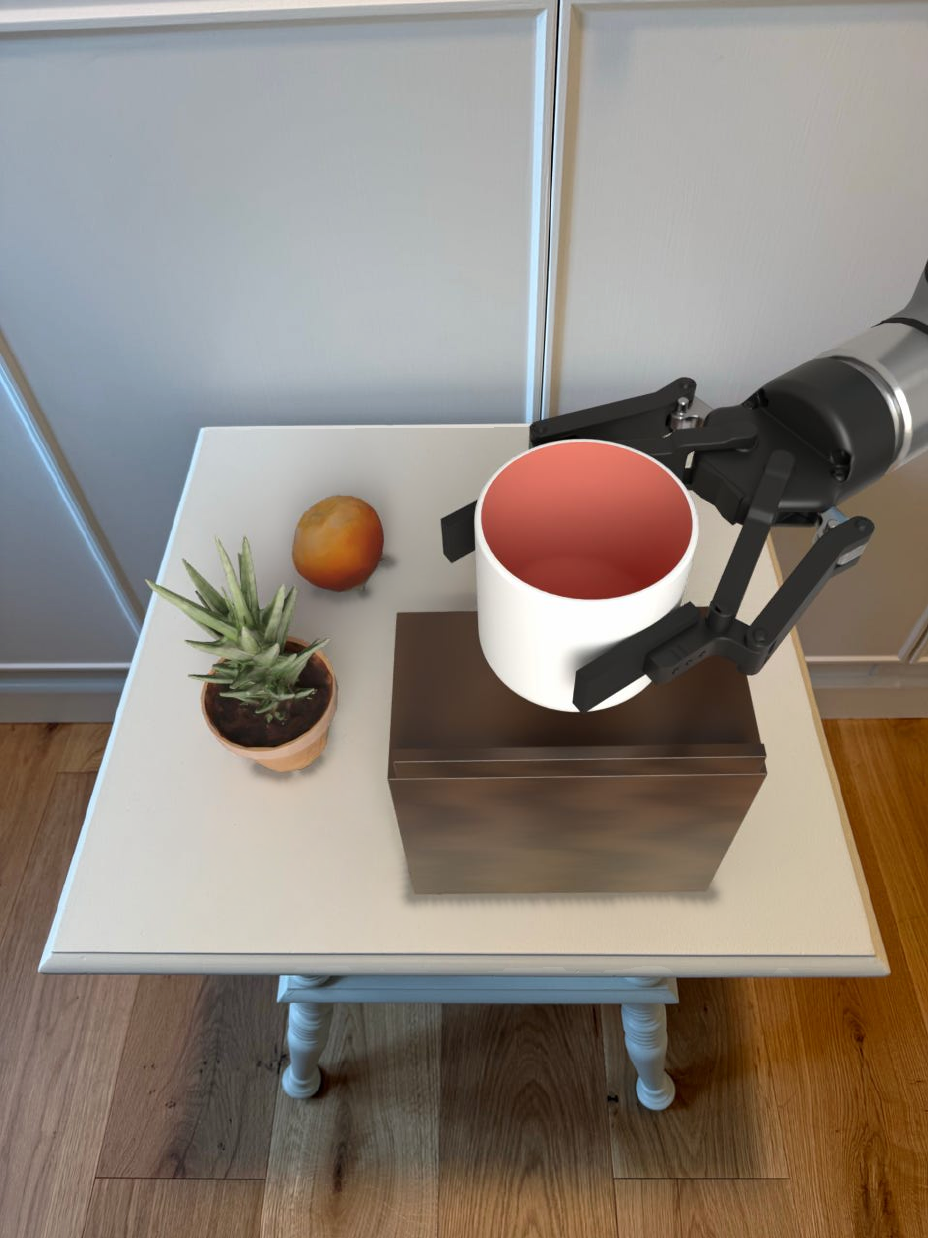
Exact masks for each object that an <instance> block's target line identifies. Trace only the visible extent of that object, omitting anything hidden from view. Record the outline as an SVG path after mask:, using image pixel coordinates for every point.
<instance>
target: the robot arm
mask: <svg viewBox="0 0 928 1238" xmlns="http://www.w3.org/2000/svg"><path fill="white" fill-rule="evenodd" d="M697 386H698V384H697V381H695V379H694V378H691V377H687V376H681V377H679V378H676V379H675V380H673V381H671V382H670V383H667V385H665V386H663V387H661V388H660V389H658V390H656V391H653V392H649V393H644V394H641V395H637V396H632V397H629V398H625V399H621V400H617V401H613V402H609V403H604V404H600V405H597V406H593V407H588V408H584V409H581V410H576V411H572V412H568V413H563V414H560V415H555V416H552V417H548V418H543V419H539V420H535V421H533V422H532V423H531V424H530V425H529V428H528V450H529V449H531V448H534V447H537V446H539V445H543V444H547V443H551V442H556V441H562V440H571V439H591V440H601V441H608V442H613V443H617V444H621V445H625V446H628V447H631V448H634V449H636V450H638V451H641V452H643V453H645V454H647V455H649V456H651V457H653V458H654V459H656V460H657V461H659V462H660V463H662V464H663V465H664V466H666V467H667V468H668V469H670V470H671V471H672V472H673V473H674V474H675V475H676V476H677V477H678V478H679V479H680V481H681V482H682V483H683V484H684V486H685V487H686V489H687V490H688V492H690V491H692V492H693V493H694V494H695V495H696V496H698V497H699V498H700V499H702V500H703V501H705V502H707V503H709V504H710V505H712V506H714V507H715V508H716V510H717V512H718V513H719V514H720V516H721V517H722V518H723V519H724V520H725V521H726V522H728V523H729V524H730V525H731V526H735V525H736V524H738V525H739V526H742V527H741V529H740V531H739V533H738V536H737V538H736V541H735V543H734V545H733V548H732V551H731V553H730V556H729V558H728V561H727V562H726V565H725V567H724V570H723V572H722V575H721V577H720V579H719V582H718V584H717V587H716V589H715V592H714V594H713V596H712V599H711V600H710V602H709V605H708V606H709V608H708V611H707V615H705V616H704V617H702V618H701V619H700V615H701V611H700V610H699V609H698V608H697V607H698V606H696V605H695V604H694V603H693V602H692V601H691V600H689V601H687V602H686V603H684V604H683V605H681V606H680V607H679V608H678V609H676V610H675V611H673V612H671V613H670V614H668V615H666V616H665V617H663V618H662V619H660V620H658V621H657V622H655V623H654V624H652V625H650V626H649V627H647V628H645V629H644V630H642V631H640V632H639V633H637V634H636V635H634V636H632V637H631V638H629V639H627V640H626V641H624V642H623V643H621V644H619V645H618V646H616V647H614V648H613V649H611V650H609V651H608V652H606V653H605V654H603V655H601V656H600V657H598V658H596V659H595V660H593V661H592V662H590V663H588V664H587V665H585V666H583V667H582V668H580V669H579V670H577V671H576V675H575V684H574V692H573V700H572V703H573V704H574V706H575V707H576V708H577V709H578V710H579V711H580V712H581V714H582V715H583V714H584V713H586V712H587V711H589V710H590V709H592V708H594V707H595V706H597V705H598V704H600V703H601V702H603V701H605V700H606V699H608V698H609V697H611V696H613V695H614V694H616V693H617V692H619V691H620V690H622V689H624V688H625V687H627V686H628V685H630V684H631V683H633V682H635V681H636V680H638V679H639V678H641V677H642V676H644V675H647V677H648V678H649V679H650V680H651V681H652V682H653V683H654V684H655V685H660V684H665V683H668V682H670V681H671V680H673V679H674V678H676V677H677V676H679V675H680V674H682V673H683V672H685V671H687V670H688V669H690V668H691V667H693V666H694V665H696V664H698V663H699V662H701V661H702V660H704V659H705V658H707V657H709V656H722V657H725V658H727V659H729V660H731V661H732V662H734V663H735V666H736V668H737V670H738V671H739V672H741V673H742V674H744V675H747V676H756V675H757V674H759V673H760V672H761V671H762V669H764V666H765V665H766V664H767V663H768V662H769V660H770V659H771V657H772V656H773V655H774V653H775V652H776V651H777V650H778V649H779V647H780V645H781V644H782V643H783V642H784V640H785V639H786V637H787V636H788V635H789V634H790V632H791V631H792V630H793V628H794V627H795V626H796V624H797V623H798V622H799V620H800V619H801V618H802V616H803V615H804V614H805V612H806V611H807V610H808V609H809V607H810V606H811V605H812V603H813V602H814V601H815V599H816V598H817V596H818V595H819V594H820V592H821V591H822V590H823V589H824V588H825V586H826V585H827V583H828V582H829V581H830V580H831V579H833V578H834V577H837V576H838V575H840V574H842V573H844V572H845V571H847V570H849V569H851V568H853V567H854V566H856V565H857V564H858V563H859V562H860V560H861V557H862V556H863V553H864V552H865V549H866V547H867V546H868V543H869V541H870V539H871V537H872V535H873V533H874V532H875V529H876V527H875V523H874V522H873V521H872V520H871V519H870V518H868V517H866V516H863V515H856V516H853V517H850V518H849V517H848V516H847V515H845V513H843V512H842V511H841V510H840V509H839V508H837V507H838V506H839V505H841V504H844V502H846V501H848V500H849V499H851V498H853V497H854V496H855V495H857V494H859V493H861V492H862V491H864V490H865V489H867V488H869V487H871V486H872V485H874V484H876V483H877V482H878V481H879V480H881V478H883V477H885V476H886V475H888V474H891V473H893V472H895V471H896V470H898V469H899V468H900V467H903V466H905V464H907V463H909V462H911V461H912V460H914V459H916V458H917V457H918V456H921V455H922V454H923V453H925V452H926V451H928V259H927V260H926V263H925V266H924V268H923V270H922V272H921V274H920V276H919V279H918V281H917V284H916V286H915V289H914V291H913V293H912V296H911V298H910V300H909V301H908V303H907V304H906V305H905V306H904V307H903V309H901V310H899V311H898V312H896V313H894V314H893V315H891V316H889V317H887V318H886V319H883V320H881V321H880V322H879V323H877V324H875V325H872V326H871V327H869V328H867V329H865V330H862V331H860V332H859V333H856V334H855V335H853V336H851V337H848V338H847V339H845V340H843V341H841V342H839V343H838V344H836V345H833V346H832V347H830V348H828V349H825V350H824V351H822V352H820V353H819V354H818V355H816V356H815V357H813V358H812V359H810V360H807V361H805V362H803V363H801V364H799V365H798V366H796V367H794V368H792V369H790V370H788V371H786V372H784V373H783V374H781V375H779V376H777V377H775V378H774V379H772V380H770V381H767V382H765V384H763V385H762V386H761V387H759V388H758V389H757V390H755V391H754V392H753V393H752V394H751V395H750V396H749V397H747V398H746V399H745V400H743V401H742V402H741V403H739V404H735V405H730V406H720V407H716V408H713V407H712V406H710V405H709V404H707V402H705V401H704V400H702V399H701V398H699V397H698V396H696V391H697ZM691 453H693V454H692V458H691V463H690V466H689V467H686V466H687V461H688V457H689V455H690V454H691ZM477 501H478V499H475V500H473V501H472V502H469V503H468V504H466V505H464V506H462V507H460V508H458V509H457V510H455V511H453V512H451V513H449V514H446V515H445V516H443V517H441V518H440V530H441V531H440V532H441V542H442V554H443V556H444V557H445V558H446V559H447V561H448V562H449V563H450V564H453V563H455V562H457V561H459V560H460V559H463V558H464V557H466V556H468V555H469V554H471V553H473V552H476V551H475V525H474V520H475V509H476V505H477ZM772 528H780V529H781V528H784V529H785V528H789V529H791V528H796V529H797V528H800V529H802V528H804V529H808V528H809V529H810V528H816V531H815V532H814V533H815V534H814V535H813V538H812V540H811V548H810V549H809V550H808V551H807V552H806V554H805V555H804V556H803V558H802V559H801V560H800V561H799V563H798V564H797V565H796V567H795V568H794V569H793V571H792V572H791V573H790V574H789V575H788V577H787V578H786V579H785V580H784V582H783V584H781V585H780V587H778V589H777V591H776V592H775V594H774V595H773V596H772V597H771V598H770V599H769V600H768V602H767V603H766V605H765V606H764V607H763V609H762V610H761V611H760V612H759V614H757V616H756V617H755V619H754V620H753V621H752V622H751V624H747V623H745V622H743V621H742V620H740V619H738V618H737V616H738V614H739V610H740V608H741V605H742V602H743V601H744V597H745V595H746V593H747V590H748V587H749V585H750V582H751V580H752V577H753V574H754V571H755V570H756V567H757V564H758V561H759V559H760V557H761V554H762V551H763V549H764V546H765V544H766V542H767V539H768V537H769V534H770V532H771V529H772Z"/></svg>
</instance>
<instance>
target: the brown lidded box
mask: <svg viewBox="0 0 928 1238" xmlns="http://www.w3.org/2000/svg"><path fill="white" fill-rule="evenodd" d="M696 607H697V608H698V609H699V610H700V611H701V615H700V619H701V618H702V617H704V616H705V615H707V611H708V608H709V605H705V606H703V605H702V606H700V605H699V606H696ZM395 614H396V615H395V633H394V634H395V636H394V650H393V666H392V667H393V669H392V671H393V672H392V685H391V686H392V688H391V706H390V707H391V708H390V722H389V723H390V724H389V740H388V741H389V743H388V757H387V759H388V761H387V777H386V778H387V779H386V781H387V783H388V787H389V793H390V797H391V800H392V805H393V810H394V813H395V817H396V822H397V826H398V830H399V834H400V838H401V844H402V848H403V852H404V856H405V861H406V864H407V869H408V873H409V877H410V883H411V885H412V890H413V894H414V895H472V894H474V895H478V894H479V895H481V894H482V895H483V894H485V895H486V894H487V895H488V894H493V895H494V894H565V893H566V894H575V893H581V894H582V893H586V894H588V893H589V894H590V893H671V892H672V893H673V892H679V893H680V892H682V893H683V892H707V891H708V889H709V887H710V885H711V883H712V881H713V879H714V878H715V876H716V874H717V872H718V870H719V869H720V866H721V864H722V862H723V860H724V858H725V857H726V855H727V853H728V851H729V849H730V847H731V845H732V843H733V841H734V839H735V838H736V836H737V834H738V833H739V830H740V828H741V826H742V824H743V822H744V820H745V818H746V817H747V814H748V813H749V811H750V808H751V806H752V805H753V803H754V801H755V799H756V797H757V795H758V793H759V791H760V790H761V788H762V786H763V784H764V782H765V780H766V778H767V776H768V770H767V769H768V768H767V765H766V760H767V757H768V756H767V751H766V746H765V743H762V739H761V735H760V731H759V726H758V722H757V721H758V720H757V716H756V712H755V706H754V702H753V697H752V693H751V687H750V682H749V679H748V675H744V674H742V673H741V672H739V671H738V670H737V668H736V666H735V663H734V662H732V661H731V660H729V659H727V658H725V657H722V656H709V657H707V658H705V659H704V660H702V661H701V662H699V663H698V664H696V665H694V666H693V667H691V668H690V669H688V670H687V671H685V672H683V673H682V674H680V675H679V676H677V677H676V678H674V679H673V680H671V681H670V682H668V683H665V684H660V685H655V684H654V683H653V682H652V681H651V682H650V683H649V684H648V685H647V686H646V687H645V688H644V689H643V690H642V691H640V692H639V693H638V694H636V695H635V696H633V697H632V698H630V699H628V700H626V701H624V702H622V703H620V704H618V705H615V706H612V707H609V708H605V709H600V710H596V711H587V712H586V713H584V714H583V715H582V714H581V712H568V711H560V710H555V709H550V708H547V707H544V706H540V705H538V704H536V703H533V702H531V701H529V700H527V699H525V698H523V697H522V696H520V695H518V694H517V693H515V692H514V691H513V690H511V689H510V688H509V687H508V686H507V685H505V684H504V683H503V682H502V681H501V680H500V678H499V677H498V676H497V675H496V673H495V672H494V671H493V669H492V668H491V666H490V665H489V663H488V661H487V659H486V657H485V655H484V653H483V650H482V647H481V643H480V638H479V629H478V610H451V611H449V610H448V611H442V610H441V611H408V612H407V611H400V612H396V613H395Z"/></svg>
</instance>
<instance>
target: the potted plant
mask: <svg viewBox="0 0 928 1238" xmlns="http://www.w3.org/2000/svg"><path fill="white" fill-rule="evenodd" d="M214 540H215V544H216V548H217V552H218V554H219V557H220V560H221V561H220V562H221V565H222V568H223V571H224V574H225V579H226V584H227V587H228V589H229V592H230V595H231V599H230V597H229V595H228V593H227V591H226V590H225V589H224V587H223V586H220V589H221V592H222V595H221V594H220V593H219V592H218V590H216V589H215V588H214V587H213V586H212V585H211V583H209V582H208V581H207V580H206V579H205V578H204V577H203V576H202V575H201V573H199V572H198V571H197V570H196V568H195V567H194V566H193V565H192V564H191V563H189V562H188V561H187V560H186V559H185V558H183V557H182V558H181V562H182V564H183V566H184V567H185V570H186V573H187V574H188V576H189V578H190V580H191V581H192V583H193V584H194V586H195V588H196V590H194V593H195V594H196V596H197V598H198V599H199V601H200V602H201V604H202V605H201V604H199V603H197V602H195V601H193V600H190V599H188V598H186V597H185V596H183V595H180V594H178V593H176V592H174V591H173V590H170V589H168V588H166V587H165V586H162V585H159V584H157V583H156V582H153V581H152V580H150V579H148V578H144V581H145V582H146V583H147V585H148V587H149V589H151V590H152V591H154V592H155V593H156V594H157V595H158V596H160V597H161V598H162V599H164V600H165V601H167V602H169V604H172V605H173V606H175V607H176V608H178V609H179V610H181V612H182V613H183V614H185V615H186V616H187V617H188V618H189V619H190V620H191V621H193V622H194V623H195V624H196V625H197V626H198V627H200V628H201V629H202V630H203V631H205V632H206V633H207V634H208V635H209V636H210V637H212V638H213V639H214V641H198V640H191V639H184V640H183V642H184V644H186V645H188V646H189V647H192V649H195V650H197V651H199V652H202V653H206V654H209V655H214V656H217V657H220V658H219V659H218V660H217V661H216V663H213V664H211V666H210V667H211V669H210V671H209V672H208V674H198V673H197V674H194V673H193V674H191V673H190V674H187V677H188V678H190V679H192V680H195V681H200V682H204V683H203V687H202V690H201V695H200V704H201V713H202V715H203V718H204V720H205V723H206V726H207V728H208V730H209V731H210V733H211V734H212V735H213V736H214V738H215V739H216V740H217V741H218V743H220V745H221V746H222V747H223V748H225V749H226V750H228V751H229V752H231V753H232V754H235V755H236V756H238V757H243V758H246V759H250V760H253V761H255V762H256V763H258V764H259V765H261V766H263V767H264V768H266V769H268V770H271V771H275V772H279V773H286V772H292V771H297V770H302V769H304V768H306V767H308V766H310V765H312V763H314V762H315V761H316V760H317V759H318V758H319V757H320V756H321V754H322V753H323V751H324V750H325V748H326V745H327V740H328V733H329V727H330V725H331V723H332V721H333V719H334V717H335V715H336V713H337V709H338V702H339V701H338V698H339V696H338V694H339V685H338V680H337V679H338V678H337V676H336V674H335V671H334V669H333V666H332V664H331V662H330V660H329V659H328V657H327V656H326V655H325V654H324V653H323V652H322V650H320V649H321V648H322V647H324V646H325V645H327V644H328V643H329V642H330V641H331V638H330V637H328V638H325V639H323V640H322V641H320V638H318V637H317V639H315V640H314V641H312V642H311V643H309V642H308V641H306V640H304V639H302V638H299V637H295V636H293V635H288V632H289V629H290V626H291V624H292V621H293V619H294V615H295V612H296V608H297V604H296V603H297V601H296V597H297V591H298V589H297V585H296V584H294V585H292V587H291V589H290V590H289V592H288V593H287V595H286V589H285V588H286V587H285V584H284V583H281V585H280V586H279V587H278V588H277V590H276V592H275V595H274V597H273V599H272V600H271V601H270V603H268V605H267V606H266V607H265V608H262V609H260V603H259V598H258V588H257V578H256V571H255V566H254V561H253V556H252V550H251V545H250V543H249V540H248V538H247V536H246V535H243V537H242V543H241V549H242V550H241V551H242V552H241V553H240V552H237V560H238V571H239V581H238V577H237V575H236V572H235V569H234V566H233V564H232V562H231V559H230V557H229V554H228V553H227V551H226V549H225V547H224V546H223V543H222V541H221V540H220V539H219V537H218V536H217V534H216V533H215V534H214ZM239 582H240V584H239Z"/></svg>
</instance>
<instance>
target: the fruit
mask: <svg viewBox="0 0 928 1238" xmlns="http://www.w3.org/2000/svg"><path fill="white" fill-rule="evenodd" d="M383 528H384V527H383V524H382V521H381V518H380V516H379V515H378V512H377V510H376V509H375V508H374V507H373V506H372V505H370V504H369V503H368V502H366V501H365V500H363V499H361V498H359V497H356V496H353V495H352V496H351V495H340V494H338V495H332V496H329V497H325V498H324V499H322V500H320V501H318V502H317V503H316V504H314V505H312V506H310V508H309V509H308V510H306V511H304V513H303V514H302V515H301V517H300V519H299V521H298V522H297V525H296V527H295V531H294V536H293V541H292V549H291V556H292V557H291V558H292V562H293V564H294V568H295V570H296V571H297V573H298V574H299V575H300V576H301V577H302V578H304V579H305V580H306V581H308V582H309V583H310V584H312V585H313V586H315V587H317V588H320V589H323V590H328V591H332V592H336V593H343V592H349V591H354V590H361V591H363V592H365V586H366V584H367V582H368V581H369V579H370V578H371V577H372V575H373V574H374V573H375V571H376V570H377V568H378V565H379V563H380V562H381V561H384V562H389V559H386V558H385V557H383V553H384V552H383V550H384V545H385V535H384V529H383Z"/></svg>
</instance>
